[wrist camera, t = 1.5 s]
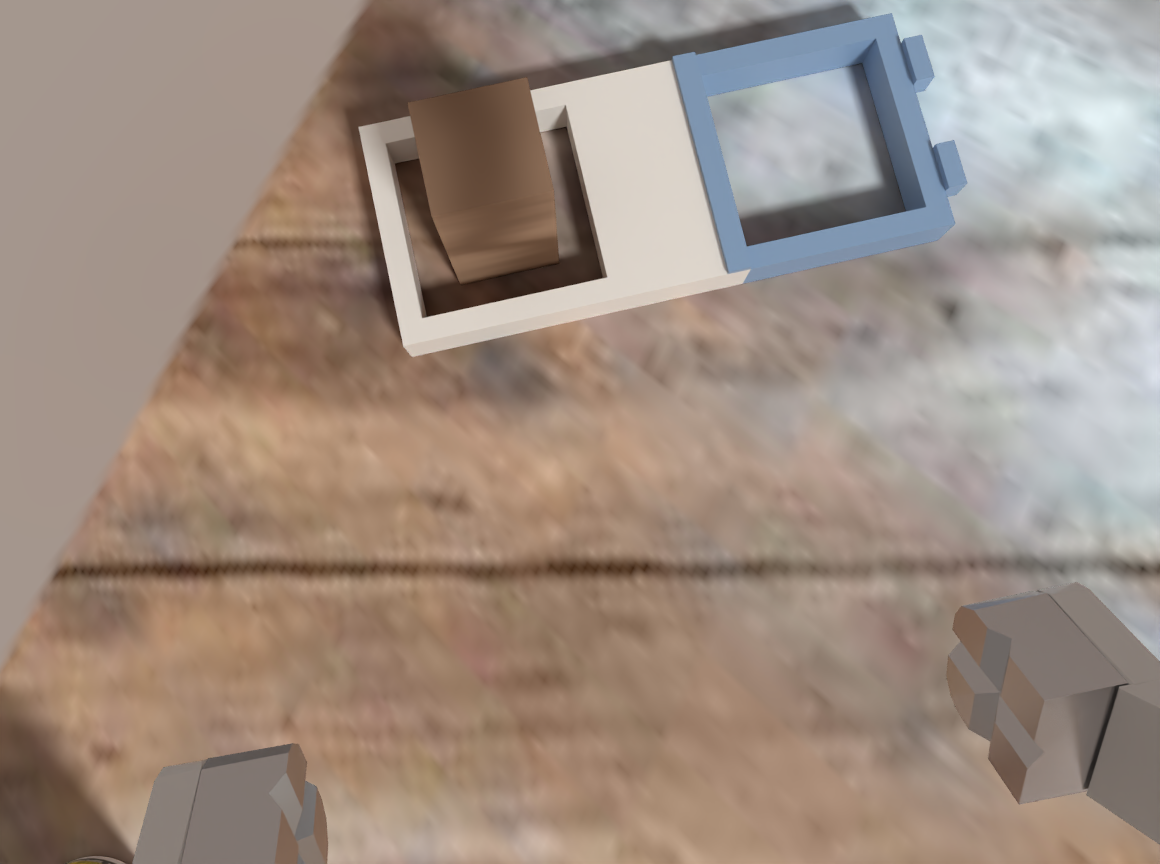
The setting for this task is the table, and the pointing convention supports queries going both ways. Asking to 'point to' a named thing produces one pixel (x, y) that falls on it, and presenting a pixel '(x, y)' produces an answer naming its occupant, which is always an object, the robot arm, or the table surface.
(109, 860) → the supplement bottle
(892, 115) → the two-window frame tray
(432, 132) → the walnut block
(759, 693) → the table surface
